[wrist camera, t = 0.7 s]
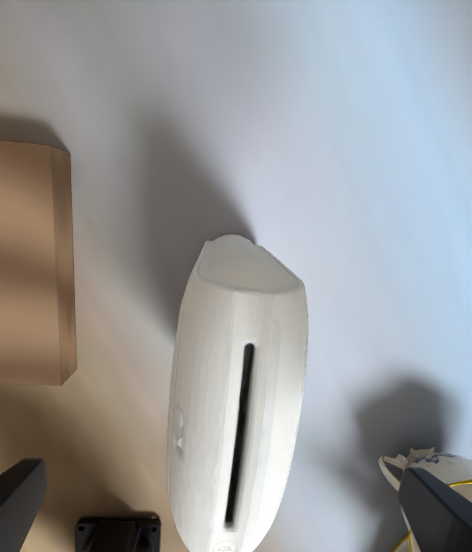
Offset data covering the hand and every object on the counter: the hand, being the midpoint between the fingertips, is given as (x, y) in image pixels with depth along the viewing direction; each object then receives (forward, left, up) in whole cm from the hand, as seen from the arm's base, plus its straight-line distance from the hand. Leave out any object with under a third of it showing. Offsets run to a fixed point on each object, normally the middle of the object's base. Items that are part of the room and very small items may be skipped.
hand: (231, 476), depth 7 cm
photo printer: (0, 0, -13) cm, 13 cm away
